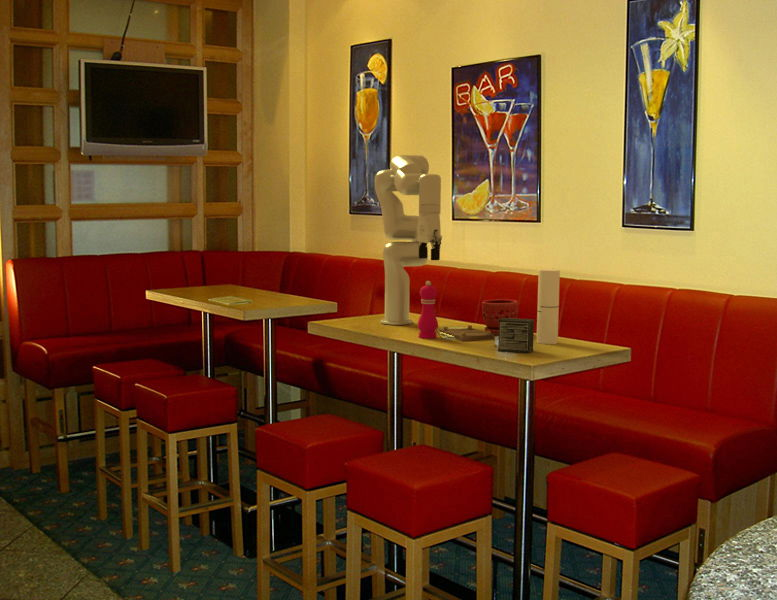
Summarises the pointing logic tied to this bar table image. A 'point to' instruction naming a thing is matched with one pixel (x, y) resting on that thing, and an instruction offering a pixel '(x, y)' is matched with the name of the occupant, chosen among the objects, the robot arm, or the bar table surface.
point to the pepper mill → (428, 312)
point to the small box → (516, 335)
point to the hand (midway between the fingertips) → (429, 259)
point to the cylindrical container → (548, 306)
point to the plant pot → (498, 313)
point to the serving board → (468, 334)
